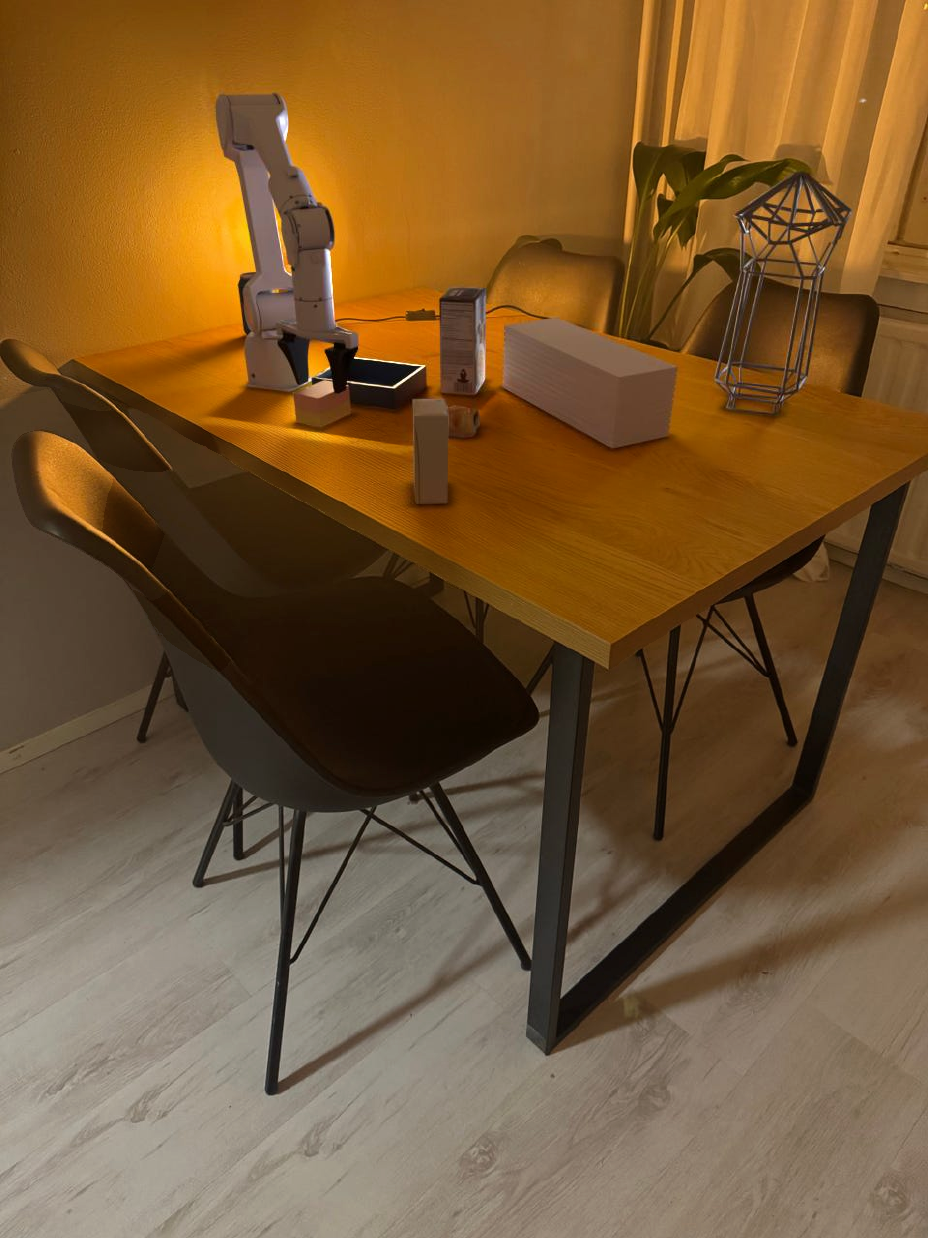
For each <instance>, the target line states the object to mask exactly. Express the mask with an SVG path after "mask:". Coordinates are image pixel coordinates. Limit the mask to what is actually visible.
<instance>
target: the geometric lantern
mask: <svg viewBox="0 0 928 1238" xmlns="http://www.w3.org/2000/svg"><path fill="white" fill-rule="evenodd" d="M802 184H803V188H804V191H805V195H806V198H807V202H808V205H809V209H807V208H806V209H805V208H798V204H799V198H800V194H801V188H802ZM794 186H795V188H794ZM787 187H788V188H787ZM785 188H787V189H786V191H785V193H784V195H783V196H782V198H781V199H780V201H779V202H778V204H773V203H770V202H768V201H769V200H771V198H774V196H776V195H777V194H779V193H780V192H781V191H783V190H785ZM793 189H794V193H793V198H792V203H791V207H787V206H784V203H785V202H786V200H787V199H788V197H789V195H790V193H791V192H792V191H793ZM811 194H812V195H813V197H814V199H815V200H816V202H817V204H818V205H819V207H820V208H817V209H816V210H815V205H814V203H813V199H812V195H811ZM830 200H831V201H832V202H833V203H832V202H831V201H830ZM834 204H835V205H836V206H837V207H836V206H835V205H834ZM761 207H762V208H763V209H764V210H765V211H767V213H769V214H770V215H771V217H770V216H769V217H768V216H763V215H757V214H754V213H755V212H757V210H759V209H760V208H761ZM773 209H774V210H773ZM780 211H784V212H789V213H790V216H789V221H788V222H787V221H786V220H785V219H784V218H782V217H781V216H780V215H779V214H778V213H779V212H780ZM844 212H846V213H845V215H844V216H843V215H842V213H844ZM797 213H799V214H808V215H811V218H810V220H809V221H808V222H795V219H796V217H797ZM818 213H819V214H821V213H824V215H825V217H826V218H825V219H822V220H821V221H814V219H815V216H816V214H818ZM852 213H853V209H852V207H850V206H848V205H847V204H846V203H844V202H843V201H842V200H841V199H839V197H837V196H836V195H834V194H833V193H832V192H831V191H830V190H828V189H827V188H826V187H825V186H824V185H822V184H821V183H820V182H819V181H818V180H816V178H814V177H813V176H812V175H811V173H810V172H806V171H804V170H802V171H799V170H796V171H793V172H792V173H791V174H789V175H788V176H787V177H785V178H784V179H782V180H781V181H779V182H778V183H776V184H775V185H773V186H772V187H770V188H768V190H766V191H764V192H763V193H762V194H760V195H758V196H757V197H756V198H754V199H752V200H751V201H749V202H748V203H747V205H746V206H745V207H742V208H741V209H739V210H738V211H736V212H735V213H734V214H733V217H735V219H736V221H737V224H738V226H739V233H740V262H739V264H740V267H739V271H740V273H739V278H738V281H737V285H736V290H735V294H734V298H733V300H732V301H733V302H732V306H731V310H730V312H729V313H730V314H729V318H728V322H727V326H726V329H725V334H724V339H723V342H722V345H721V350H720V354H719V358H718V361H717V367H716V370H715V375H714V378H713V379H714V382H715V384H716V385H717V386H718V387H719V388H720V389H721V390H722V391H723V392H724V393H725V394H726V395H728V397H729V398H728V402H727V404H726V407H725V408H726V410H729V411H732V412H740V413H741V412H742V413H750V414H759V415H768V416H769V415H770V416H776V415H780V414H781V410H782V407H783V404H784V401H786V400H788V399H789V398H791V397H792V396H793V395H795V394H796V393H797V394H798V393H799V391H800V389H801V388H802V387H803V385H804V384H805V382H806V381H807V379H808V376H809V371H810V366H811V365H810V364H811V358H812V352H813V345H814V340H815V339H814V338H815V332H816V328H817V327H816V326H817V320H818V314H819V307H820V301H821V293H822V289H823V281H824V276H825V268H826V266H827V264H828V262H829V260H830V258H831V256H832V255H833V254H832V253H833V252H834V250H835V248H836V245H838V241H839V240H841V239H842V236H843V233H844V229H845V227H846V225H847V222H848V221H849V219H850V217H851V215H852ZM744 220H745V221H744ZM754 220H757V221H764V222H767V233H765V232H764V231H763V230H762V229H761V228H760V227H759V226H758V224H757V223H756V222H754ZM772 225H777V226H783V227H785V229H784V230H783V232H782V233H781V234H780V236H778V238H777V239H776V240H773V239H771V236H772V235H771V229H772ZM832 226H833V227H835V228H837V229H836V232H835V234H834V237H833V240H832V242H831V241H829V242H828V244H827V246H826V247H825V249H824V251H823V252H822V254H821V256H820V258H819V260H818V257H817V253H816V250H815V248H814V244H813V241H812V238H811V236H812V235H815V234H816V233H818V232H821V231H823V230H825V229H827V228H830V227H832ZM803 227H805V228H803ZM806 227H807V229H806ZM752 228H753V229H754V230H755V231H756V232H757V233H758V234H759V235H760V236H761V237H762V238H763V239H764V240H765V241H766V242H767V243H766V244H765V245H764V247H763V248H762V249H761V250H760V251H759V253H758V254H757V253H756V250H755V249H756V248H755V245H754V241H753V238H752V233H751V232H752ZM791 231H794V232H798V233H803V234H801V235H799V236H796V237H793V238H792V239H791ZM747 234H748V237H749V241H750V244H751V248H752V249H751V250H752V252H753V257H754V258H752V257H751V259H749V260H748V261H747V262H746V263H745V235H747ZM786 235H787V236H786ZM785 236H786V237H787V238H786V240H782V239H783V238H784V237H785ZM806 238H807V239H808V242H809V245H810V247H811V251H812V254H813V256H814V260H815V262H808V261H799V258H798V256H797V255H798V254H797V253H796V250H795V247H794V243H797V242H799V241H801V240H803V239H806ZM785 245H786V246H787V245H788V246H789V249H790V251H791V254H792V257H793V260H785V259H775V258H769V257H770V255H771V254H772V252H773V251H774V250H775V248H776V247H777V246H785ZM769 246H771V247H770V249H768V251H767V252H766V254H765V255H764V257H760V256H761V255H762V253H764V251H765V250H766V249H767V248H768V247H769ZM828 249H829V250H828ZM827 251H828V252H827ZM826 253H827V254H826ZM825 255H826V257H825ZM824 257H825V259H824ZM823 259H824V261H823ZM822 261H823V263H822V264H821V262H822ZM767 262H772V263H783V264H793V265H794V264H795V265H796V268H797V271H798V273H799V275H789V274H782V273H771V272H765V271H766V266H767ZM756 263H762V265H761V270H760V271H755V267H756ZM801 265H802V266H803V265H804V266H815V267H814V268H813V270H812V273H811V274H810V275H805V274H804V272H803V269H802V266H801ZM749 269H750V270H749ZM754 275H759V279H758V283H757V288H756V292H755V296H754V301H753V305H752V310H751V314H750V319H749V322H748V326H747V327H748V328H747V332H746V337H745V341H744V345H743V349H742V354H741V358H740V361H737V362H736V361H733V359H734V353H735V349H736V346H737V341H738V337H739V333H740V328H741V324H742V320H743V317H744V312H745V309H746V304H747V300H748V296H749V292H750V288H751V284H752V280H753V276H754ZM765 276H767V277H768V276H769V277H778V278H786V279H793V280H800V282H799V286H798V292H797V297H796V302H795V308H794V309H795V310H794V314H793V319H792V327H791V332H790V338H789V343H788V350H787V354H786V360H785V367H781V366H775V365H774V366H773V365H765V364H760V363H759V364H758V363H753V362H745V359H746V354H747V351H748V347H749V343H750V342H749V341H750V337H751V332H752V328H753V324H754V320H755V315H756V310H757V306H758V302H759V297H760V293H761V289H762V285H763V280H764V277H765ZM818 278H819V279H818ZM806 280H807V281H809V280H810V281H811V284H810V289H809V297H808V301H807V307H806V312H805V316H804V320H803V321H804V322H803V326H802V330H801V334H800V340H799V344H798V349H797V355H796V358H795V363H794V367H793V368H790V363H791V358H792V352H793V348H794V347H793V346H794V341H795V334H796V328H797V324H798V318H799V312H800V307H801V301H802V295H803V288H804V283H805V281H806ZM817 281H818V286H817V291H816V285H817ZM740 291H741V292H740ZM815 291H816V297H815V304H814V311H813V317H812V323H811V331H810V335H809V336H810V337H809V342H808V343H809V344H808V350H807V356H806V364H805V370H804V372H802V369H803V361H804V356H805V351H806V343H807V336H808V332H809V331H808V330H809V324H810V318H811V311H812V306H813V300H814V295H815ZM739 295H740V298H739ZM738 300H739V302H738ZM737 304H738V307H737ZM736 307H737V308H738V309H737V314H736V318H735V319H736V320H735V323H734V324H735V325H734V330H733V335H732V340H731V346H730V351H729V356H728V361H727V364H726V365H725V366H724V367H723V368H722V369H721V367H722V363H723V359H724V355H725V350H726V347H727V344H728V343H727V342H728V340H729V336H730V331H731V327H732V324H733V319H734V315H735V311H736ZM734 366H735V367H737V366H739V367H738V368H739V371H738V381H737V379H736V376H735V374H734V372H733V370H732V367H734ZM743 366H744V367H750V368H758V369H764V370H765V369H766V370H771V371H772V370H773V371H780V372H783V378H782V384H781V385H771V384H761V383H752V382H743V381H742V375H743V374H742V373H743V372H742V371H743V370H742V368H743ZM724 373H725V378H724V380H722V379H720V378H721V377H722V376H723V375H724ZM789 373H790V374H789ZM788 374H789V375H788ZM794 374H796V379H795V381H794V382H793V383H790V385H788V386H787V383H788V381H789V380H790V379H791V378H792V377H793V375H794ZM730 375H731V377H732V380H733V382H734V383H733V382H729V380H730ZM786 386H787V387H786ZM793 386H794V389H791V390H789V389H790V388H792V387H793ZM725 387H726V388H727V389H726V388H725ZM730 387H732V389H731V388H730ZM768 388H769V389H768ZM770 388H771V389H770ZM741 389H743V390H749V391H754V392H761V393H765V394H771V395H763V394H752V393H744V392H741ZM773 389H775V390H773ZM776 389H777V390H776ZM736 391H737V393H736ZM773 395H776V396H773ZM760 398H762V399H760ZM763 398H764V399H763ZM737 399H738V400H745V401H752V402H758V403H764V404H771V405H773V409H772V410H773V411H772V412H769V411H761V410H751V409H742V408H741V409H740V408H736V404H737ZM765 399H766V400H765ZM767 399H773V400H776V401H772V400H767ZM731 404H732V407H731ZM777 405H779V406H778V409H777Z"/></svg>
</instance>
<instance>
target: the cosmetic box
mask: <svg viewBox="0 0 928 1238" xmlns="http://www.w3.org/2000/svg"><path fill="white" fill-rule="evenodd" d="M447 407H448V403H447V400H446V398H445V397H444V398H412V435H413V436H412V437H413V441H412V442H413V493H414V501H415V502H414V503H415V505H434V504H435V505H439V504H447V503H448V494H449V493H448V490H449V489H448V488H449V487H448V486H449V485H448V484H449V482H448V481H449V435H448V425H449V414H448V408H447Z"/></svg>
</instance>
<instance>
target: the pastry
mask: <svg viewBox="0 0 928 1238" xmlns="http://www.w3.org/2000/svg"><path fill="white" fill-rule="evenodd" d="M447 408H448V414H449V425H448V437H452V438H453V437H457V439H467V438H473V437H474V436H475V435H476V433H477V429H478V428H479V427H480V425H481V423H482V422H481V416H480V412H479V411H480V410H479V409H478V408H477V407H476V406H474V407H466V406H463V405H452V406H451V407H449V406H447Z"/></svg>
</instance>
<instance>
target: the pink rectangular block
mask: <svg viewBox="0 0 928 1238" xmlns="http://www.w3.org/2000/svg"><path fill="white" fill-rule="evenodd" d="M292 394H293V403H294V413H295V422H296V423H300V424H304V425H308V426H311V427H312V426H313V427H315V428H319V429H320V428H323V427H325V426H327V425H329V424H332V423H334V422H336V421H338V420H340V419H342V418H345V417H346V416H347V417H348V416H349V415H351V414H352V411H351V404H350V395H349V385H347V387H346V391H343V392H341V393H339V394H337V393H335V392H334V389H333V382H331V381H326V380H324V381H321V382H319V383H316V384H314V385H312V384H311V385H310V386H309V385H308V386H307V387H304V388H302V389H300V390H299V389H298V390H296V391H294V392H292Z"/></svg>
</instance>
